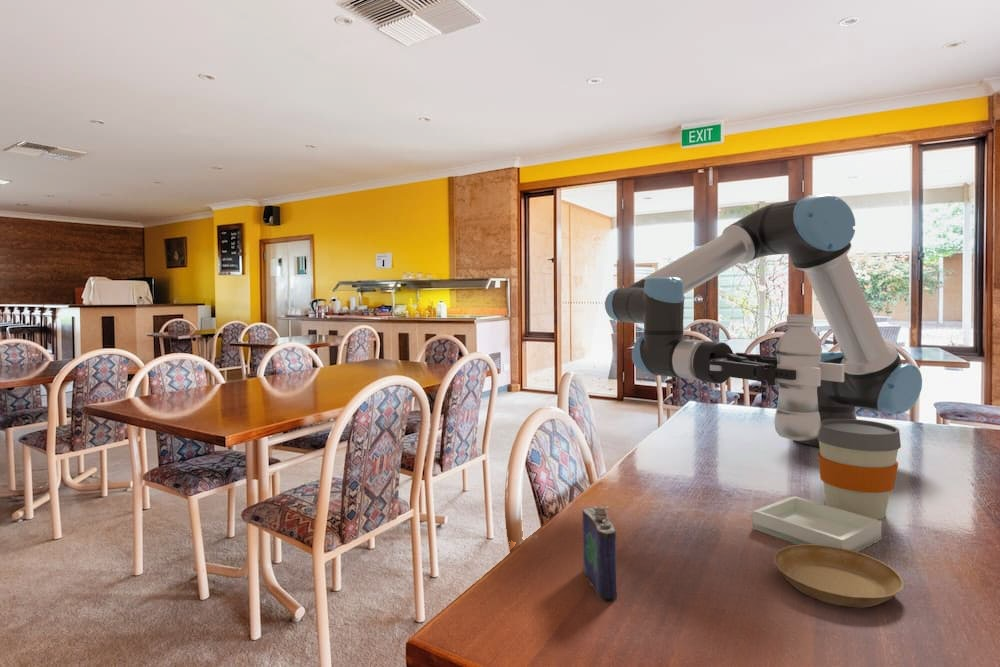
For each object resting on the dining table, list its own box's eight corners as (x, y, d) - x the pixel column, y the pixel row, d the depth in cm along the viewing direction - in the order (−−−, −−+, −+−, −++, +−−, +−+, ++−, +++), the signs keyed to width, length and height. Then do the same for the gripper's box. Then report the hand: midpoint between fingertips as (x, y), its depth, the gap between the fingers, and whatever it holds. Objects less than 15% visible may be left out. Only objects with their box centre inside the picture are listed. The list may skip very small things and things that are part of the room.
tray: (793, 512, 103) (793, 495, 103) (881, 540, 91) (881, 521, 91) (752, 528, 96) (753, 510, 96) (842, 560, 85) (842, 540, 84)
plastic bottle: (826, 445, 91) (830, 315, 89) (778, 443, 92) (782, 315, 91) (813, 435, 97) (817, 314, 96) (769, 433, 99) (772, 314, 97)
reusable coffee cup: (870, 529, 95) (873, 438, 94) (799, 505, 106) (801, 423, 105) (914, 515, 101) (917, 429, 100) (842, 493, 112) (844, 415, 111)
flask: (580, 569, 83) (580, 495, 82) (600, 568, 83) (600, 493, 83) (600, 604, 74) (600, 520, 73) (623, 602, 74) (623, 519, 73)
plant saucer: (932, 606, 73) (933, 585, 73) (837, 627, 69) (838, 605, 68) (833, 555, 87) (833, 538, 87) (749, 570, 83) (749, 552, 82)
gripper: (736, 376, 114) (862, 393, 95) (668, 386, 104) (795, 407, 85) (736, 338, 114) (863, 346, 94) (669, 344, 103) (796, 355, 84)
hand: (831, 375), depth 90 cm, fingers closed on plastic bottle, 6 cm apart
